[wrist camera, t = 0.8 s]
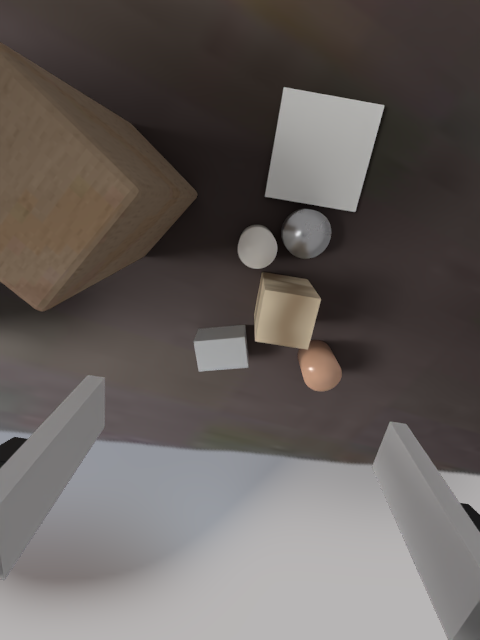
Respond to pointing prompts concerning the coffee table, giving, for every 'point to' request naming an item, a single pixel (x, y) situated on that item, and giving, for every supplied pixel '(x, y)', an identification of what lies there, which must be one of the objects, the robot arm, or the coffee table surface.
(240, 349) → the grey box
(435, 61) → the coffee table surface
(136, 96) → the coffee table surface
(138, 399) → the coffee table surface
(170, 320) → the coffee table surface
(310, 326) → the maple block
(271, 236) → the grey rounded cylinder
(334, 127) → the coaster
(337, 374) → the peach capsule
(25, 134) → the wooden block
